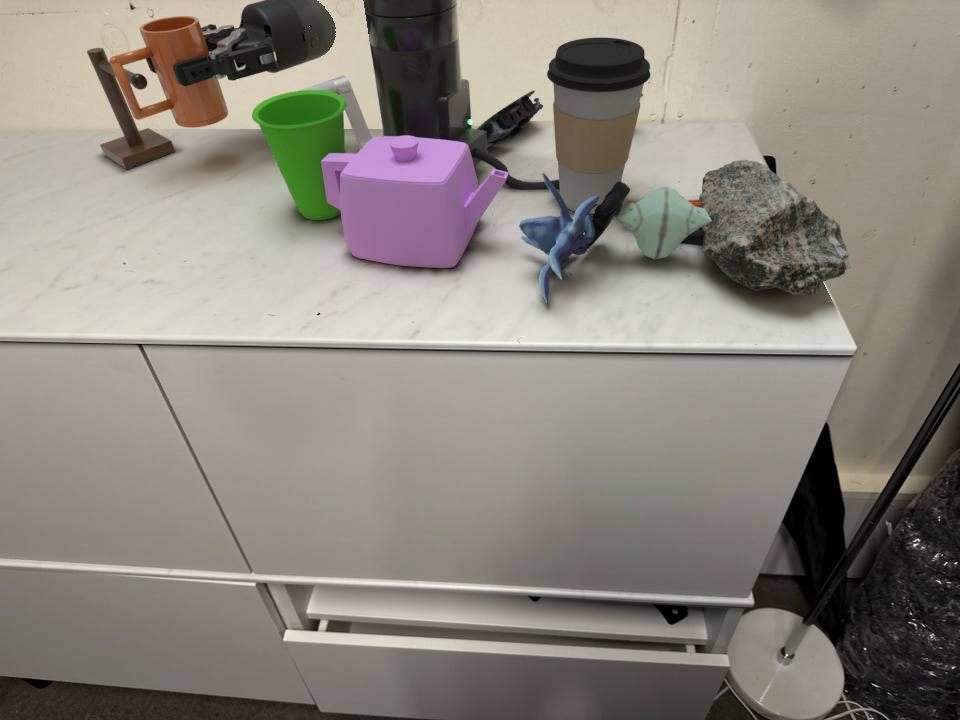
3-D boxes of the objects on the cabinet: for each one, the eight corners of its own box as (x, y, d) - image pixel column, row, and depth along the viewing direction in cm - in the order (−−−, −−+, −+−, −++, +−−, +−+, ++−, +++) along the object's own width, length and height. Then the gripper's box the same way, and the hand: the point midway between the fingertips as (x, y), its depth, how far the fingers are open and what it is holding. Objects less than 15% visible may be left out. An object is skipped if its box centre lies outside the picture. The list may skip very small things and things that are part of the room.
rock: (892, 270, 51) (866, 198, 44) (795, 348, 53) (757, 292, 47) (749, 179, 64) (712, 114, 57) (676, 246, 66) (633, 190, 60)
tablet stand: (325, 181, 72) (308, 109, 66) (289, 161, 76) (271, 92, 71) (384, 156, 76) (373, 86, 70) (347, 139, 80) (334, 71, 75)
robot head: (611, 267, 57) (619, 200, 52) (610, 242, 60) (618, 177, 55) (701, 271, 56) (718, 203, 51) (696, 246, 59) (712, 179, 54)
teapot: (519, 221, 64) (519, 122, 57) (494, 280, 56) (491, 175, 49) (358, 205, 68) (339, 111, 61) (315, 258, 60) (288, 158, 53)
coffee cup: (642, 187, 68) (664, 39, 57) (618, 230, 61) (638, 73, 51) (560, 174, 71) (567, 31, 61) (530, 213, 65) (532, 61, 54)
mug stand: (104, 155, 80) (55, 52, 71) (152, 138, 83) (110, 38, 75) (154, 188, 73) (106, 77, 64) (205, 167, 76) (165, 60, 68)
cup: (378, 194, 69) (361, 93, 62) (340, 236, 63) (316, 129, 56) (308, 184, 72) (284, 86, 64) (264, 224, 65) (232, 120, 58)
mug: (212, 103, 76) (181, 13, 69) (238, 114, 73) (208, 21, 66) (131, 131, 71) (89, 37, 64) (155, 145, 68) (113, 47, 61)
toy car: (478, 122, 71) (494, 145, 72) (547, 75, 76) (562, 97, 76) (454, 153, 79) (468, 173, 80) (517, 108, 83) (531, 128, 84)
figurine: (551, 322, 53) (481, 278, 56) (621, 250, 59) (554, 214, 62) (571, 239, 46) (488, 193, 48) (649, 166, 52) (572, 129, 54)
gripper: (250, -12, 77) (118, 21, 69) (319, 5, 70) (181, 44, 61) (267, 52, 82) (147, 90, 74) (333, 74, 75) (207, 120, 66)
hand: (163, 69), depth 68 cm, fingers closed on mug, 6 cm apart
